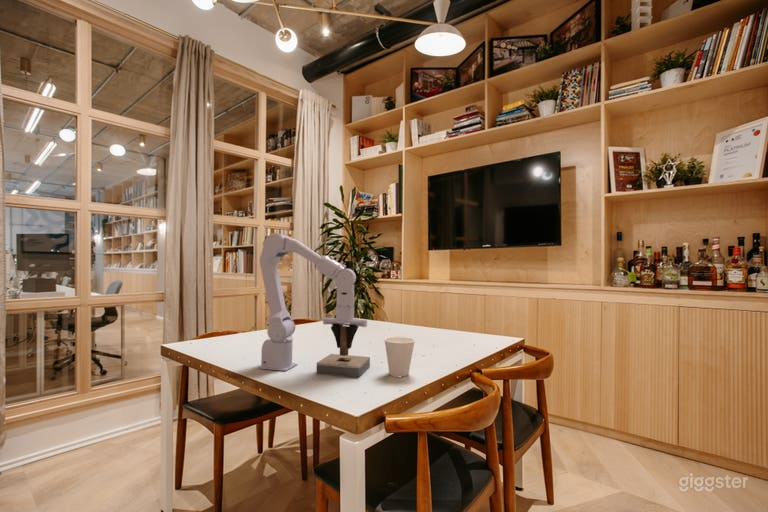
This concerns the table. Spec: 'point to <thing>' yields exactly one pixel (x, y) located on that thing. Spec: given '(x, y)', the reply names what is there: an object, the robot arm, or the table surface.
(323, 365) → the grey block with hole
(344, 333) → the brown wooden block
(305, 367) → the table surface
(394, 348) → the cup
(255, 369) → the table surface
